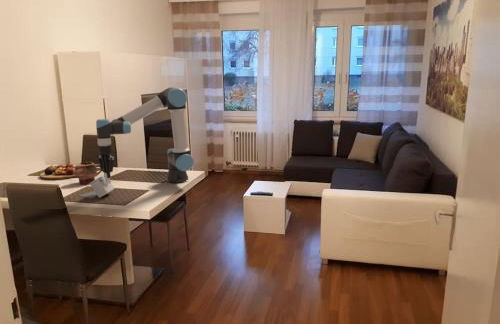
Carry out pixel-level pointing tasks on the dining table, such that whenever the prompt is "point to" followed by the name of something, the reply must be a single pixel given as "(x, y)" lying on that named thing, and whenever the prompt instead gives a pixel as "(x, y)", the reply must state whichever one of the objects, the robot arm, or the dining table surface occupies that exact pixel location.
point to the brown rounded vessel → (86, 172)
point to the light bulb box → (101, 186)
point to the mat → (91, 194)
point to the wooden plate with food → (58, 172)
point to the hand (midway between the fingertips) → (107, 182)
